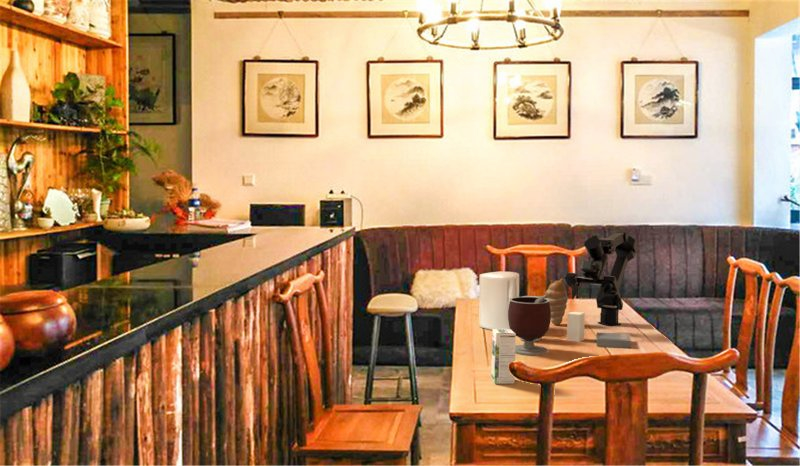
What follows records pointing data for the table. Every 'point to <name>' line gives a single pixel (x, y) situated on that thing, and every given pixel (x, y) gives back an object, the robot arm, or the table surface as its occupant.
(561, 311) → the spiral seashell
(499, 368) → the syrup box
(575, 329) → the block
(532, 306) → the mate gourd
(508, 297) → the paper towel roll
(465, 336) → the table surface
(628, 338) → the plate
